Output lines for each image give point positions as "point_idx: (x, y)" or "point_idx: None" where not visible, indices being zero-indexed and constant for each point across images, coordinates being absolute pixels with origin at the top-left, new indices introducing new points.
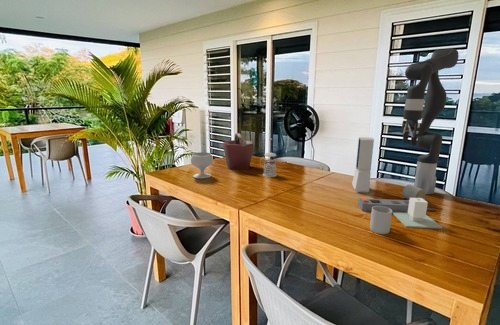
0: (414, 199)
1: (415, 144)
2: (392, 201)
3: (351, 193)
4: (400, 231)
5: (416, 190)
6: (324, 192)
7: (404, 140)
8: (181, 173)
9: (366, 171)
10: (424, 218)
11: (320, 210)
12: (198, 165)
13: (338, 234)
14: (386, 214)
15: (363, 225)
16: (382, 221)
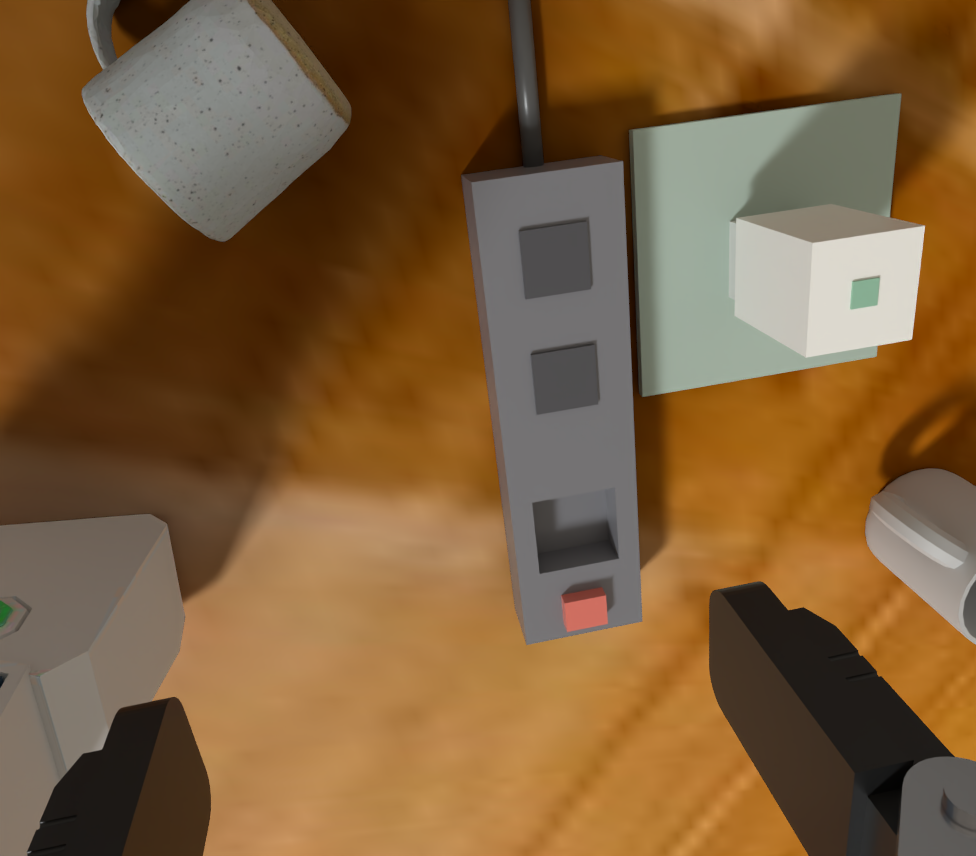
0: (854, 328)
1: (771, 604)
2: (560, 404)
3: (226, 645)
4: (929, 401)
5: (304, 117)
6: (281, 817)
7: (191, 824)
8: None
9: (75, 702)
10: (746, 175)
11: (656, 797)
12: None
13: (953, 697)
14: None
15: (852, 589)
16: None
